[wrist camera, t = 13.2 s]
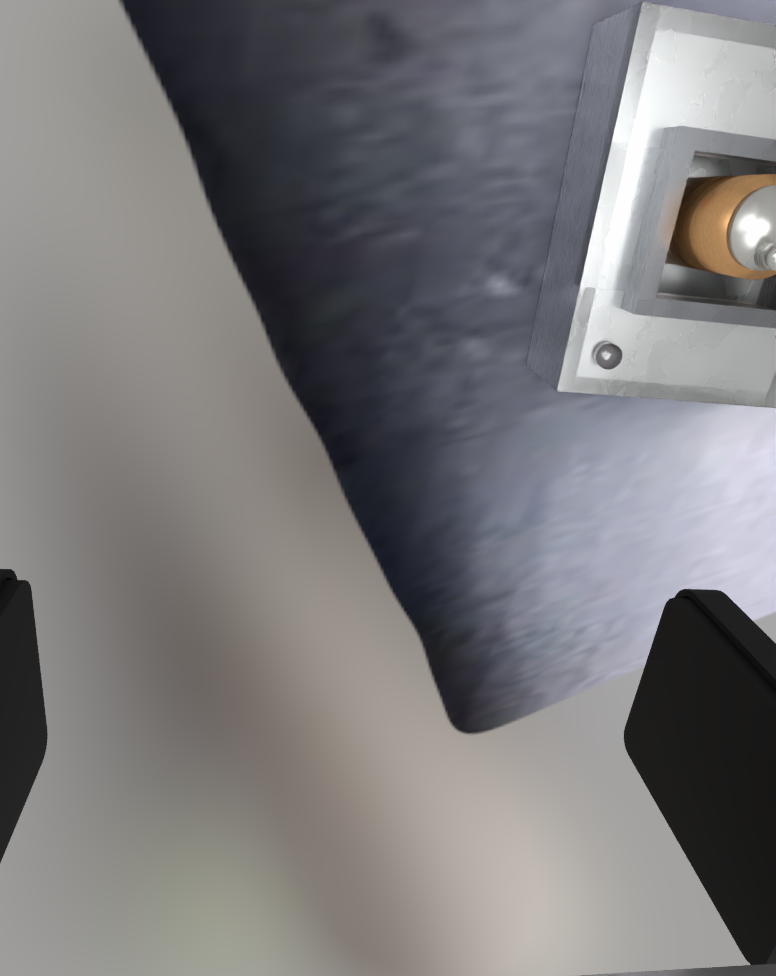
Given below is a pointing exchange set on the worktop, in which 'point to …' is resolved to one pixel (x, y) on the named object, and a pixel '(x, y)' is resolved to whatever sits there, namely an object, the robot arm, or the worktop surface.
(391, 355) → the worktop surface
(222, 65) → the worktop surface
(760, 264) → the spout can
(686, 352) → the plate
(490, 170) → the worktop surface
